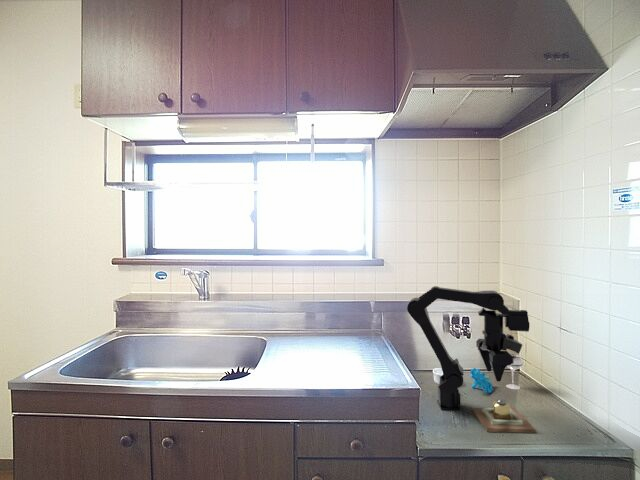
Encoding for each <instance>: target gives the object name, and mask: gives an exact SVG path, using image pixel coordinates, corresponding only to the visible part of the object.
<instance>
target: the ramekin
mask: <svg viewBox="0 0 640 480" xmlns="http://www.w3.org/2000/svg"><path fill="white" fill-rule="evenodd" d="M432 373H433V382H434V383H435V384H437V385H439V381H440V377H441V376H442V375H443V371H442V367H438V368H437V367H436V368H433V370H432Z"/></svg>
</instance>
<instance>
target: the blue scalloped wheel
mask: <svg viewBox="0 0 640 480" xmlns="http://www.w3.org/2000/svg"><path fill="white" fill-rule="evenodd" d="M469 372H470V378H472V379H473V384H472V385H471V388H472V389H474V388H475V387H477V388H478V389H479V390H481V389H482V388H483V389H482V391H483V393H485V394H486V393H488V394H491V393H492V391H493V390H494V388H493V383H492V382H490V380H491V379H490V378H491V377H490V376H489V375H488V376H486V373H485V372H484V371H482V372H481V369H479V368H477V369H476V367H473V368H471V370H470V371H469Z"/></svg>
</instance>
